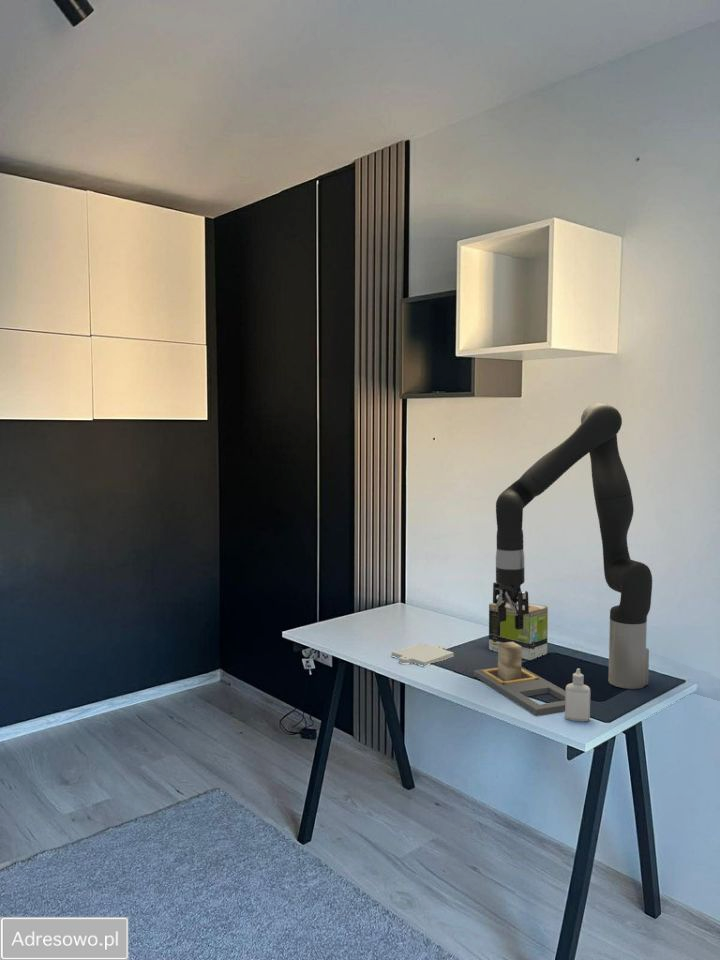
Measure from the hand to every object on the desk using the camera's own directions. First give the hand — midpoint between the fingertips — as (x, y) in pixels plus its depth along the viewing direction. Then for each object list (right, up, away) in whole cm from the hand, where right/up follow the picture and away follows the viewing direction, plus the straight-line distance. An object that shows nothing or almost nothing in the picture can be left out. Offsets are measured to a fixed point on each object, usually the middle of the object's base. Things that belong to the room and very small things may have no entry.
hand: (510, 624), depth 200 cm
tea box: (+7, -14, +26) cm, 30 cm away
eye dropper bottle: (+11, -17, -25) cm, 32 cm away
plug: (0, -15, +1) cm, 15 cm away
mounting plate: (-22, -14, +21) cm, 34 cm away
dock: (+3, -16, -7) cm, 17 cm away
